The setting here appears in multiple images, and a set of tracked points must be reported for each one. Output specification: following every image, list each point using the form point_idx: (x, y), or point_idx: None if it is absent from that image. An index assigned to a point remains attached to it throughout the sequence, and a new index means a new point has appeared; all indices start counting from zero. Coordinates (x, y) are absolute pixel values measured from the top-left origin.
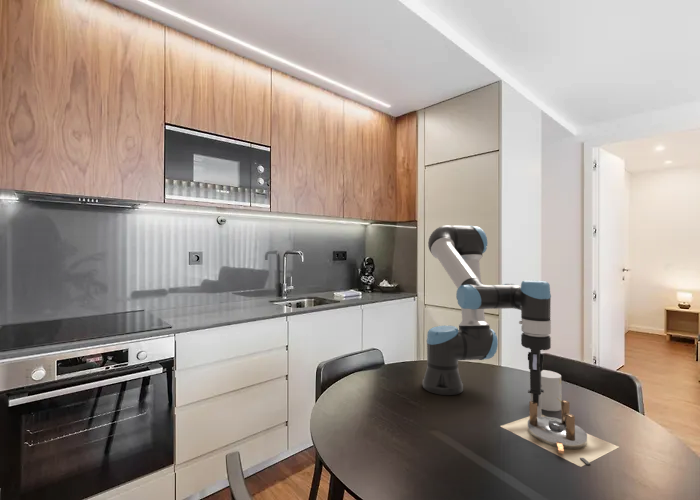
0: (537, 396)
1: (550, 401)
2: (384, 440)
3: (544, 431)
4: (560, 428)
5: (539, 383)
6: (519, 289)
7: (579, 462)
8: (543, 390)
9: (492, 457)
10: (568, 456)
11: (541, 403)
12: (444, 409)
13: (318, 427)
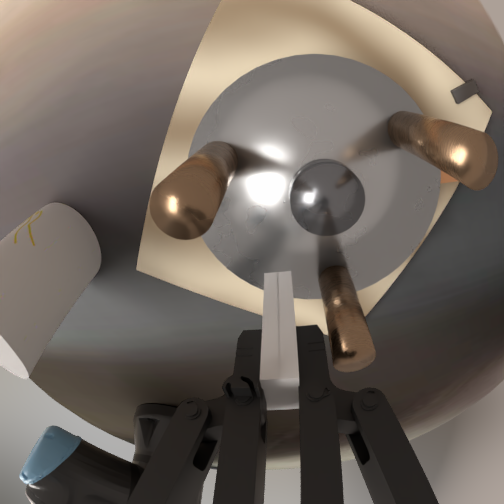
0: (327, 379)
1: (61, 258)
2: (440, 402)
3: (388, 234)
4: (357, 177)
5: (419, 469)
6: None
7: (474, 109)
8: (240, 388)
9: (471, 301)
10: None
11: (82, 277)
12: (286, 412)
13: (421, 434)
